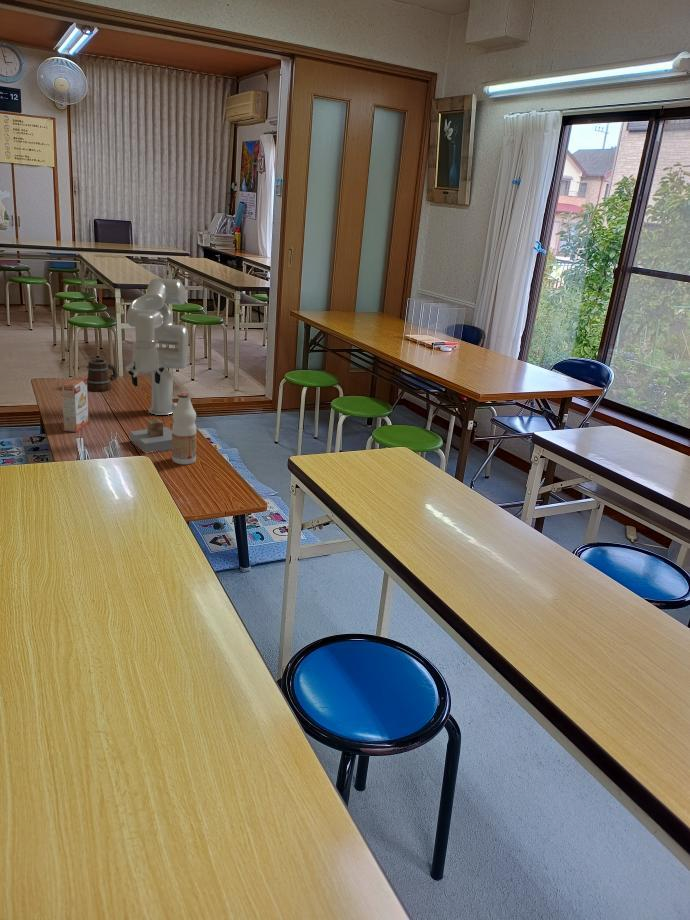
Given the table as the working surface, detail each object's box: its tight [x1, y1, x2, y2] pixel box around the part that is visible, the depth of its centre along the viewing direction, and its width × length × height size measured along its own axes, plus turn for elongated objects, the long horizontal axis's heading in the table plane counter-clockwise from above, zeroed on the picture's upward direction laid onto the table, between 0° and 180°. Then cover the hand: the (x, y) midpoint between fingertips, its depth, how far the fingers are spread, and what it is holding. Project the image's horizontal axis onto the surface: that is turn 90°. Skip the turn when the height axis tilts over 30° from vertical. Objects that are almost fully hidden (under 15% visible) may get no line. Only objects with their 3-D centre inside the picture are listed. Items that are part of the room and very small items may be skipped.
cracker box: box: [61, 376, 89, 433], centre depth 293 cm, size 14×6×21 cm, turn 179°
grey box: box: [129, 426, 172, 452], centre depth 285 cm, size 16×16×5 cm
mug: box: [86, 358, 118, 393], centre depth 351 cm, size 16×12×15 cm
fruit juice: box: [171, 391, 197, 465], centre depth 267 cm, size 9×9×28 cm
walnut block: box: [146, 418, 164, 437], centre depth 283 cm, size 5×5×6 cm
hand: (146, 384), depth 283 cm, fingers open, 9 cm apart
